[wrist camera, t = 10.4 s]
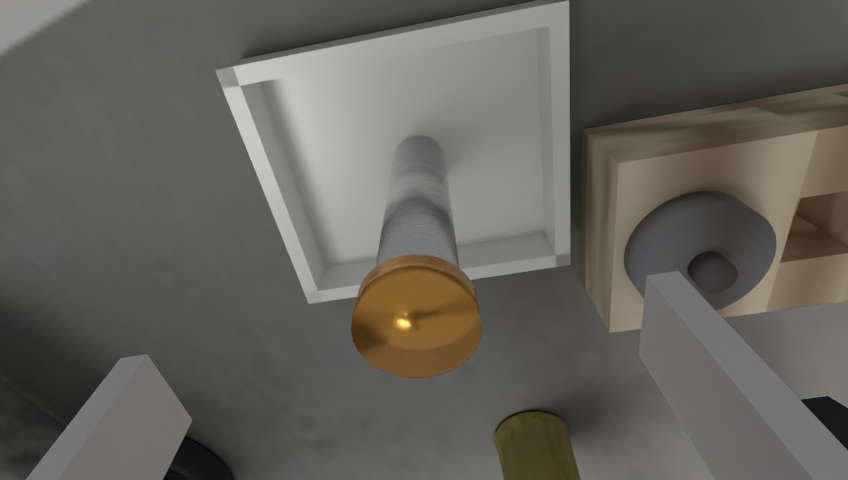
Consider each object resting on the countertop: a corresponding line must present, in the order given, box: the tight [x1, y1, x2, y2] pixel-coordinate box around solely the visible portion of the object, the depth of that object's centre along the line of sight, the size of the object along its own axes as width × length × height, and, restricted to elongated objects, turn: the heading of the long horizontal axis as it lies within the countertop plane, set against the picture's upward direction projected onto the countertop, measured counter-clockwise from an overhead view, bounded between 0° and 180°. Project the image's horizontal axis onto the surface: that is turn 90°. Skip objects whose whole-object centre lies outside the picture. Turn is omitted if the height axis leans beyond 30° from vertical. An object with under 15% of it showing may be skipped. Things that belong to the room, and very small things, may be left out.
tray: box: [215, 0, 571, 304], centre depth 23 cm, size 15×13×3 cm
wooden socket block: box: [580, 83, 848, 333], centre depth 22 cm, size 14×10×8 cm
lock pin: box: [351, 136, 482, 378], centre depth 18 cm, size 4×4×13 cm
